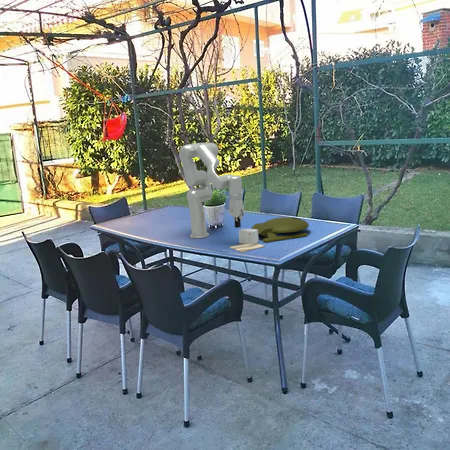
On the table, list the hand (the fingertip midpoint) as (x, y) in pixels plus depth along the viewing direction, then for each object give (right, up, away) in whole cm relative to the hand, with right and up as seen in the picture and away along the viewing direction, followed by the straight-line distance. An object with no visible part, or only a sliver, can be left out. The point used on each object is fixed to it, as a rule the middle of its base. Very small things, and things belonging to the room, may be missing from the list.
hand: (237, 227), depth 282 cm
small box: (+2, -5, +4) cm, 7 cm away
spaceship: (+29, -5, +20) cm, 35 cm away
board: (+5, -12, -5) cm, 14 cm away
